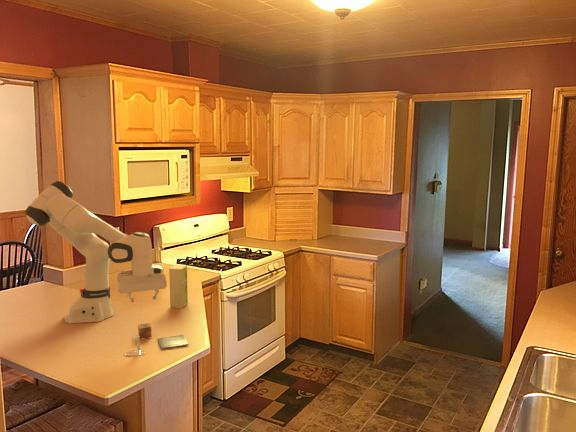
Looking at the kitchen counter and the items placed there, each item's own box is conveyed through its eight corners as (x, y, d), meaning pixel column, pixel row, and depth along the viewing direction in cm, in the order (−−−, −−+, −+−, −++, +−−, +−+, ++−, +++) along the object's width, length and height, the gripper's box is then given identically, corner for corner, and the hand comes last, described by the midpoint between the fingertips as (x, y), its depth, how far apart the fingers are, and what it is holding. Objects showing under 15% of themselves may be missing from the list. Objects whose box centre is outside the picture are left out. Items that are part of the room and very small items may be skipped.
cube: (139, 339, 214) (139, 328, 214) (138, 335, 219) (138, 324, 218) (151, 337, 216) (151, 326, 216) (150, 333, 221) (149, 323, 220)
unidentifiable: (125, 351, 202) (145, 350, 203) (123, 356, 197) (144, 355, 198) (124, 333, 201) (145, 332, 202) (122, 338, 196) (143, 337, 197)
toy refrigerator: (183, 308, 254) (182, 269, 251) (170, 307, 256) (168, 268, 253) (189, 303, 262) (188, 265, 259) (176, 302, 264) (175, 264, 260)
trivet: (161, 349, 203) (161, 347, 203) (157, 340, 213) (157, 338, 213) (188, 345, 208) (188, 343, 208) (183, 336, 218) (183, 334, 218)
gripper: (117, 273, 206) (118, 305, 208) (166, 269, 214) (167, 299, 216) (116, 270, 212) (117, 301, 214) (164, 265, 220) (165, 295, 222)
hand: (143, 300), depth 215 cm, fingers open, 8 cm apart
